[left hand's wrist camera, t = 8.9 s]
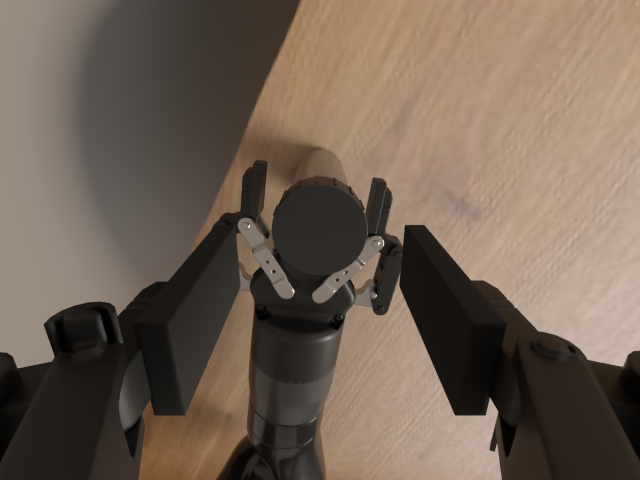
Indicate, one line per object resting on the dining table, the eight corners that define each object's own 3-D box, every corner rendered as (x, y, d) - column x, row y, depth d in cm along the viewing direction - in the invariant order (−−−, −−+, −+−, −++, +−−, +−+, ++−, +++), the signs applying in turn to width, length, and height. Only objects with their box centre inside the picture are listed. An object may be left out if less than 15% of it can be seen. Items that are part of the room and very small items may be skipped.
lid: (264, 188, 18) (257, 198, 16) (353, 164, 18) (356, 172, 16) (290, 267, 20) (287, 285, 18) (371, 247, 19) (377, 264, 17)
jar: (292, 155, 31) (268, 201, 17) (336, 143, 30) (350, 179, 16) (304, 198, 32) (292, 274, 18) (346, 187, 32) (368, 256, 18)
